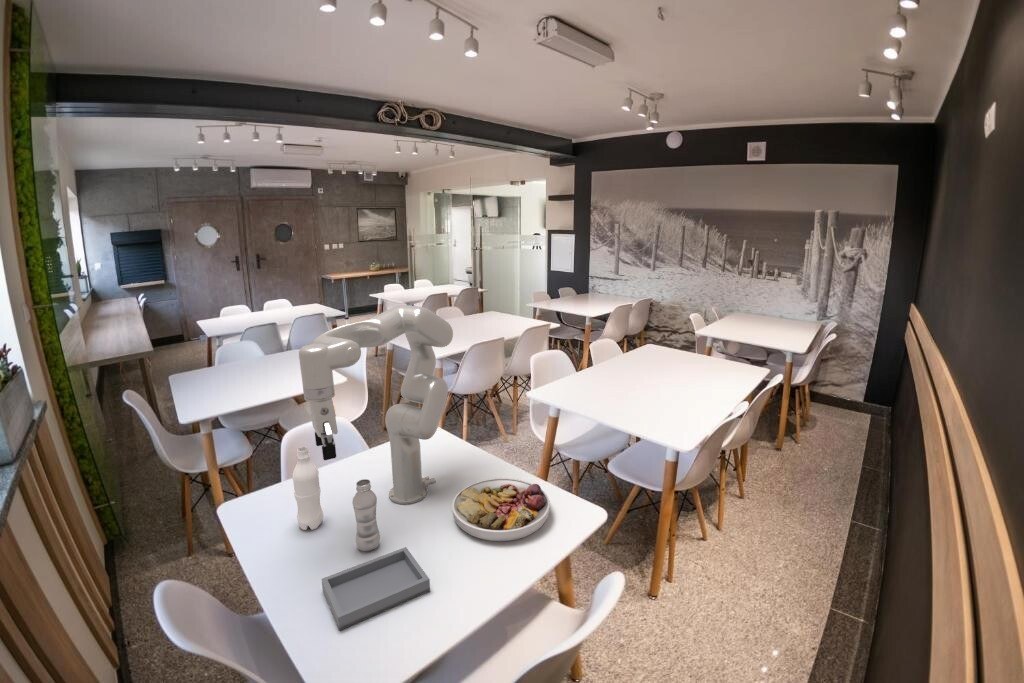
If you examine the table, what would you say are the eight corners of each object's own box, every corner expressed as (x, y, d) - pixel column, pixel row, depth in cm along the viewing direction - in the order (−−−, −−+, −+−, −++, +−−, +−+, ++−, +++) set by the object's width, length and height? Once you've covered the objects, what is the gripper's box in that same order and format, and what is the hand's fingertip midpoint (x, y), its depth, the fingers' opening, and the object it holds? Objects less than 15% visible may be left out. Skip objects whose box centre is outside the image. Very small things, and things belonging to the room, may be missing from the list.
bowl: (477, 560, 135) (477, 534, 133) (438, 506, 160) (437, 484, 159) (569, 527, 149) (569, 504, 147) (519, 483, 174) (519, 462, 173)
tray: (406, 558, 135) (406, 546, 134) (430, 591, 123) (429, 578, 122) (322, 591, 123) (321, 578, 123) (339, 631, 111) (338, 617, 110)
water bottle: (315, 533, 146) (306, 455, 140) (293, 531, 147) (283, 453, 142) (328, 519, 153) (320, 444, 147) (307, 517, 154) (299, 442, 148)
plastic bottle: (385, 542, 142) (380, 478, 137) (371, 557, 136) (366, 490, 131) (366, 537, 144) (360, 474, 139) (351, 552, 138) (345, 486, 133)
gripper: (341, 398, 125) (348, 460, 129) (327, 380, 139) (333, 436, 143) (309, 404, 121) (317, 468, 125) (298, 385, 135) (305, 442, 139)
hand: (326, 451), depth 134 cm, fingers open, 9 cm apart
